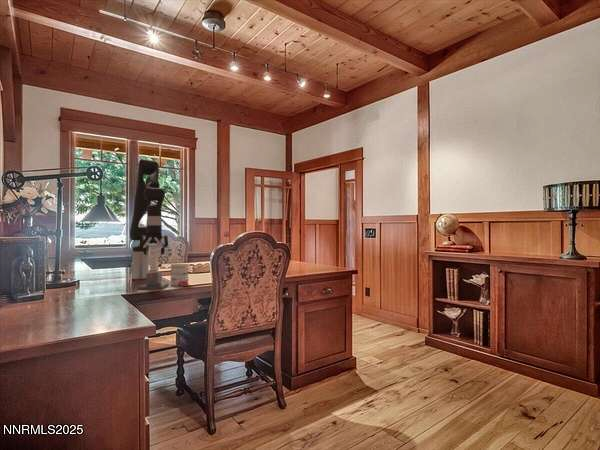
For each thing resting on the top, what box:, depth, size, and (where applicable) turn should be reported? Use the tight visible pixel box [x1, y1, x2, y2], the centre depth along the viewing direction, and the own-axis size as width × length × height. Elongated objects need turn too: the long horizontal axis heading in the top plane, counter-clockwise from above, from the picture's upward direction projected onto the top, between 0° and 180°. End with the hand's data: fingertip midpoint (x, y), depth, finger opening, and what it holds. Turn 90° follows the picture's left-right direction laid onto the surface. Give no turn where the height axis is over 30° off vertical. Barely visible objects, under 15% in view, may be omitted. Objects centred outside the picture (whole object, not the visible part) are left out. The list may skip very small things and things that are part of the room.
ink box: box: [170, 263, 189, 286], centre depth 196 cm, size 9×5×12 cm, turn 84°
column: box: [148, 244, 159, 273], centre depth 187 cm, size 4×4×16 cm
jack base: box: [137, 271, 169, 291], centre depth 186 cm, size 12×12×8 cm
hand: (154, 254), depth 187 cm, fingers open, 8 cm apart
